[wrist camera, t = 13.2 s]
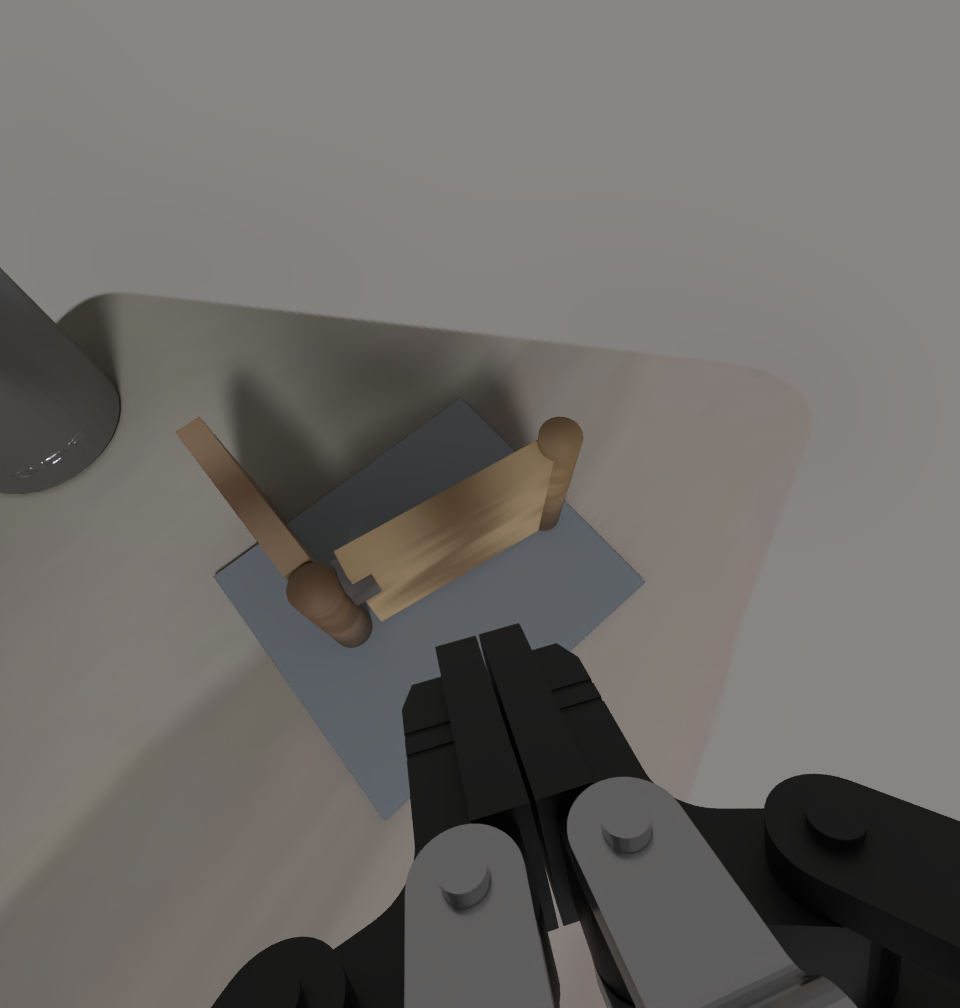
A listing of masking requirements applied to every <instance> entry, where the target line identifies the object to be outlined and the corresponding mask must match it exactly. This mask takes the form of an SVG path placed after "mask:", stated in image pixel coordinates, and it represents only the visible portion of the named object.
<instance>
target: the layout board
mask: <svg viewBox="0 0 960 1008" xmlns="http://www.w3.org/2000/svg"><path fill="white" fill-rule="evenodd" d="M514 452H515V451H514V450H513V449H512V448H511V447H510V446H509V445H508V444H507V443H506V442H505V441H504V440H503V439H502V438H501V437H500V436H499V435H498V434H497V433H496V432H495V431H494V430H493V429H492V428H491V427H490V426H489V425H488V424H487V423H486V422H485V421H484V420H483V419H482V418H481V417H480V416H479V415H478V414H477V413H476V412H475V411H474V410H473V409H472V408H471V407H470V406H469V405H468V404H467V403H466V402H465V401H464V400H463V399H462V398H460V399H458V400H457V401H455V402H454V403H453V404H451V405H450V406H448V407H447V408H446V409H444V410H443V411H442V412H440V413H439V414H437V415H436V416H435V417H433V418H432V419H430V420H429V421H428V422H426V423H425V424H424V425H422V426H421V427H419V428H418V429H417V430H415V431H414V432H412V433H411V434H410V435H408V436H407V437H406V438H404V439H403V440H401V441H400V442H399V443H397V444H396V445H395V446H393V447H392V448H390V449H389V450H388V451H386V452H385V453H383V454H382V455H381V456H379V457H378V458H377V459H375V460H374V461H372V462H371V463H370V464H368V465H367V466H365V467H364V468H363V469H361V470H360V471H359V472H357V473H356V474H354V475H353V476H352V477H350V478H349V479H347V480H346V481H345V482H343V483H342V484H341V485H339V486H338V487H336V488H335V489H334V490H332V491H331V492H330V493H328V494H327V495H325V496H324V497H323V498H321V499H320V500H318V501H317V502H316V503H314V504H313V505H312V506H310V507H309V508H307V509H306V510H305V511H303V512H302V513H300V514H299V515H298V516H296V517H295V518H294V519H292V520H291V521H289V522H288V523H287V524H288V525H289V527H290V528H291V529H292V531H293V532H294V533H295V534H296V536H297V537H298V538H299V540H300V541H301V542H302V543H303V545H304V546H305V547H306V549H307V550H308V551H309V552H310V554H311V555H312V556H313V558H314V559H315V560H316V561H317V563H320V564H324V565H326V566H328V567H329V568H330V569H331V570H332V571H333V572H334V570H333V568H332V566H331V564H330V563H329V562H331V561H333V560H335V559H336V558H337V557H336V555H335V553H334V551H335V550H337V549H339V548H341V547H343V546H344V545H346V544H348V543H350V542H352V541H354V540H355V539H357V538H359V537H361V536H363V535H365V534H366V533H368V532H370V531H372V530H374V529H376V528H377V527H379V526H381V525H383V524H385V523H386V522H388V521H390V520H392V519H394V518H396V517H397V516H399V515H401V514H403V513H405V512H407V511H408V510H410V509H412V508H414V507H416V506H418V505H419V504H421V503H423V502H425V501H427V500H428V499H430V498H432V497H434V496H436V495H438V494H439V493H441V492H443V491H445V490H447V489H449V488H450V487H452V486H454V485H456V484H458V483H460V482H461V481H463V480H465V479H467V478H469V477H471V476H472V475H474V474H476V473H478V472H480V471H481V470H483V469H485V468H487V467H489V466H491V465H492V464H494V463H496V462H498V461H500V460H502V459H503V458H505V457H507V456H509V455H511V454H513V453H514ZM334 573H335V572H334ZM213 577H214V578H215V579H216V581H217V582H218V584H219V585H220V587H221V588H222V589H223V591H224V592H225V594H226V595H227V597H228V598H229V599H230V601H231V602H232V604H233V605H234V607H235V608H236V609H237V611H238V612H239V614H240V615H241V617H242V618H243V619H244V621H245V622H246V624H247V625H248V627H249V628H250V629H251V631H252V632H253V634H254V635H255V637H256V638H257V639H258V641H259V642H260V644H261V645H262V647H263V648H264V649H265V651H266V652H267V654H268V655H269V657H270V658H271V659H272V661H273V662H274V664H275V665H276V667H277V668H278V669H279V671H280V672H281V674H282V675H283V677H284V678H285V679H286V681H287V682H288V684H289V685H290V687H291V688H292V689H293V691H294V692H295V694H296V695H297V697H298V698H299V699H300V701H301V702H302V704H303V705H304V707H305V708H306V709H307V711H308V712H309V714H310V715H311V717H312V718H313V719H314V721H315V722H316V724H317V725H318V727H319V728H320V729H321V731H322V732H323V734H324V735H325V737H326V738H327V739H328V741H329V742H330V744H331V745H332V747H333V748H334V749H335V751H336V752H337V754H338V755H339V757H340V758H341V759H342V761H343V762H344V764H345V765H346V767H347V768H348V769H349V771H350V772H351V774H352V775H353V777H354V778H355V779H356V781H357V782H358V784H359V785H360V787H361V788H362V789H363V791H364V792H365V794H366V795H367V797H368V798H369V799H370V801H371V802H372V804H373V805H374V807H375V808H376V809H377V811H378V812H379V814H380V815H381V817H382V818H383V819H384V821H385V820H386V819H387V818H388V817H390V816H391V815H392V814H393V813H394V812H395V811H396V810H397V809H398V808H399V807H400V806H401V805H403V804H404V803H405V802H406V801H407V800H408V799H409V798H410V789H409V779H408V769H407V756H406V748H405V735H404V727H403V717H402V708H403V705H404V703H405V700H406V698H407V696H408V693H409V691H410V688H411V686H412V685H413V684H417V683H420V682H424V681H427V680H431V679H434V678H438V677H441V674H440V669H439V664H438V659H437V654H436V649H435V647H436V646H440V645H443V644H447V643H450V642H454V641H457V640H461V639H464V638H468V637H471V636H476V638H477V641H478V644H479V647H480V650H481V653H482V656H483V652H482V648H481V643H480V639H479V634H481V633H485V632H489V631H492V630H496V629H499V628H503V627H506V626H510V625H513V624H517V623H519V624H520V626H521V627H522V630H523V632H524V634H525V636H526V638H527V640H528V643H529V645H530V647H531V649H532V650H534V649H537V648H541V647H544V646H548V645H551V644H555V643H557V644H559V645H560V646H562V647H563V648H565V649H566V650H568V651H571V650H572V649H573V648H574V647H575V646H576V645H577V644H578V643H579V642H580V641H581V640H583V639H584V638H585V637H586V636H587V635H588V634H589V633H590V632H591V631H592V630H593V629H595V628H596V627H597V626H598V625H599V624H600V623H601V622H602V621H603V620H604V619H605V618H607V617H608V616H609V615H610V614H611V613H612V612H613V611H614V610H615V609H616V608H617V607H619V606H620V605H621V604H622V603H623V602H624V601H625V600H626V599H627V598H628V597H629V596H631V595H632V594H633V593H634V592H635V591H636V590H637V589H638V588H639V587H640V586H641V585H642V584H644V583H645V581H644V580H643V579H642V578H641V577H640V576H639V575H638V574H637V573H636V572H635V571H634V570H633V569H632V568H631V567H630V566H629V565H628V564H627V563H626V562H625V561H624V560H623V559H622V558H621V557H620V556H619V555H618V554H617V553H616V552H615V551H614V550H613V549H612V548H611V547H610V546H609V545H608V544H607V543H606V542H605V541H604V540H603V539H602V538H601V537H600V536H599V535H598V534H597V533H596V532H595V531H594V530H593V529H592V528H591V527H590V526H589V525H588V524H587V523H586V522H585V521H584V520H583V519H582V518H581V517H580V516H579V515H578V514H577V513H576V512H575V511H574V510H573V509H572V508H571V507H570V506H569V505H568V504H567V503H566V502H565V501H564V504H563V507H562V511H561V514H560V517H559V521H558V523H557V525H556V526H555V527H554V528H552V529H550V530H548V531H536V532H535V533H533V534H531V535H530V536H528V537H526V538H524V539H523V540H521V541H519V542H518V543H516V544H514V545H512V546H511V547H509V548H507V549H506V550H504V551H502V552H500V553H499V554H497V555H495V556H494V557H492V558H490V559H488V560H487V561H485V562H483V563H482V564H480V565H478V566H476V567H475V568H473V569H471V570H470V571H468V572H466V573H464V574H463V575H461V576H459V577H458V578H456V579H454V580H452V581H451V582H449V583H447V584H446V585H444V586H442V587H440V588H439V589H437V590H435V591H434V592H432V593H430V594H428V595H427V596H425V597H423V598H422V599H420V600H418V601H416V602H415V603H413V604H411V605H410V606H408V607H406V608H404V609H403V610H401V611H399V612H398V613H396V614H394V615H392V616H391V617H389V618H387V619H386V620H384V621H382V622H381V621H380V619H379V618H378V617H377V615H376V614H375V613H374V611H373V610H372V609H371V608H370V606H369V605H368V604H367V602H366V601H365V602H363V603H361V604H360V605H361V606H362V607H363V609H364V610H365V611H366V612H367V614H368V615H369V616H370V618H371V620H372V633H371V635H370V637H369V639H368V640H367V641H366V642H365V643H364V644H362V645H360V646H358V647H354V648H348V647H344V646H342V645H341V644H339V643H338V642H337V641H335V640H334V639H333V638H332V637H330V636H329V635H328V634H327V633H325V632H324V631H323V630H321V629H320V628H319V627H318V626H316V625H315V624H314V623H313V622H311V621H310V620H309V619H308V618H306V617H305V616H304V615H302V614H301V613H300V612H299V611H297V610H296V609H295V608H294V607H293V606H292V605H291V604H290V603H289V601H288V599H287V595H286V587H287V583H288V580H287V579H286V578H285V577H283V575H282V574H281V573H280V571H279V570H278V569H277V567H276V566H275V565H274V563H273V562H272V561H271V559H270V558H269V557H268V555H267V554H266V553H265V551H264V550H263V549H262V547H261V546H260V545H259V544H258V545H256V546H255V547H253V548H252V549H251V550H249V551H248V552H247V553H245V554H244V555H242V556H241V557H240V558H238V559H237V560H235V561H234V562H233V563H231V564H230V565H229V566H227V567H226V568H224V569H223V570H222V571H220V572H219V573H217V574H216V575H215V576H213ZM483 660H484V656H483ZM484 663H485V660H484ZM485 666H486V664H485ZM486 669H487V668H486Z"/></svg>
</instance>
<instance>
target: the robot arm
mask: <svg viewBox="0 0 960 1008" xmlns="http://www.w3.org/2000/svg"><path fill="white" fill-rule="evenodd" d="M119 411H120V409H119V397H118V394H117V392H116V389H115V386H114V385H113V383H112V382H111V381H110V379H109V378H108V377H107V375H106V374H105V373H104V372H103V371H102V370H101V369H100V368H99V367H98V366H97V365H96V364H95V363H94V362H93V361H92V360H91V359H90V358H89V357H88V356H87V355H86V354H85V353H84V352H83V351H82V350H81V349H80V348H79V347H78V346H77V345H76V344H75V343H74V342H73V341H72V340H71V339H70V338H69V337H68V336H67V335H66V334H65V333H64V332H63V331H62V330H61V328H60V327H59V326H58V325H57V324H56V323H55V322H54V321H53V320H52V319H51V318H49V316H47V314H46V313H45V312H44V311H43V310H42V309H41V308H40V307H38V306H37V304H36V303H35V302H34V301H33V300H32V299H31V298H30V297H29V296H28V295H27V294H26V293H25V292H24V291H23V290H22V289H21V288H20V287H19V286H18V285H17V284H16V283H15V282H14V281H13V280H12V279H11V278H10V277H9V276H8V275H7V274H6V273H5V272H4V271H3V270H2V269H1V268H0V492H1V493H5V494H25V493H32V492H38V491H42V490H45V489H48V488H51V487H54V486H57V485H59V484H61V483H63V482H65V481H67V480H68V479H70V478H72V477H74V476H76V475H77V474H78V473H80V472H81V471H82V470H84V469H85V468H86V467H88V466H89V465H90V464H91V463H92V462H93V461H94V460H95V459H96V458H97V457H98V456H99V455H100V454H101V453H102V451H103V450H104V448H105V447H106V445H107V444H108V442H109V441H110V439H111V438H112V435H113V433H114V430H115V428H116V426H117V422H118V416H119ZM479 639H480V643H481V648H482V652H483V656H484V660H485V663H484V660H483V656H482V653H481V650H480V647H479V644H478V641H477V638H476V636H471V637H468V638H464V639H461V640H457V641H454V642H450V643H447V644H443V645H440V646H436V647H435V649H436V654H437V659H438V664H439V669H440V674H441V677H438V678H434V679H431V680H427V681H424V682H420V683H417V684H413V685H412V686H411V688H410V691H409V693H408V696H407V698H406V700H405V703H404V705H403V708H402V717H403V727H404V735H405V748H406V756H407V769H408V779H409V789H410V799H411V810H412V820H413V830H414V841H415V856H414V862H413V863H412V866H411V868H410V870H409V873H408V877H407V880H406V884H405V886H404V888H403V889H402V891H401V893H400V894H399V896H398V897H397V898H396V900H395V901H394V902H393V903H392V905H391V906H390V907H389V908H388V909H387V910H386V911H385V912H384V913H383V914H382V915H381V916H380V917H378V918H377V919H376V920H374V921H373V922H372V923H371V924H369V925H368V926H366V927H365V928H364V929H362V930H361V931H359V932H358V933H356V934H355V935H354V936H352V937H351V938H349V939H348V940H346V941H345V942H344V943H342V944H341V945H339V946H338V947H336V948H335V949H334V950H333V949H332V948H331V947H330V946H329V945H327V944H326V943H325V942H323V941H321V940H318V939H315V938H311V937H295V938H290V939H286V940H283V941H280V942H278V943H276V944H273V945H271V946H269V947H268V948H266V949H265V950H263V951H261V952H260V953H258V954H257V955H256V956H255V957H253V958H252V959H251V960H250V961H249V962H248V963H246V964H245V965H244V966H243V967H242V968H241V969H240V970H239V971H238V973H237V974H236V975H235V976H234V978H233V979H232V980H231V981H230V982H229V984H228V985H227V986H226V988H225V989H224V991H223V992H222V993H221V995H220V996H219V997H218V999H217V1000H216V1001H215V1003H214V1004H213V1006H212V1007H211V1008H560V1004H559V1003H560V983H559V978H558V973H557V969H556V965H555V961H554V957H553V953H552V949H551V945H550V940H549V936H548V932H549V931H552V930H555V929H557V928H559V927H558V922H557V918H556V913H555V909H554V905H553V900H552V896H551V892H550V887H549V883H548V879H547V875H548V878H549V881H550V885H551V888H552V891H553V894H554V897H555V900H556V904H557V907H558V910H559V913H560V916H561V919H562V923H563V926H565V925H568V924H571V923H574V922H577V921H580V923H581V926H582V929H583V932H584V935H585V938H586V940H587V943H588V946H589V949H590V952H591V955H592V959H593V963H594V968H595V973H596V978H597V983H598V986H599V989H600V992H601V994H602V997H603V999H604V1002H605V1004H606V1006H607V1008H960V821H957V820H955V819H952V818H949V817H947V816H944V815H941V814H939V813H936V812H933V811H930V810H928V809H925V808H922V807H920V806H917V805H914V804H912V803H909V802H906V801H904V800H901V799H898V798H895V797H893V796H890V795H887V794H885V793H882V792H879V791H877V790H874V789H871V788H868V787H866V786H863V785H860V784H857V783H855V782H852V781H850V780H846V779H843V778H839V777H835V776H830V775H823V774H804V775H799V776H794V777H791V778H789V779H787V780H784V781H783V782H781V783H779V784H778V785H777V786H776V787H775V788H774V789H773V790H772V791H771V792H770V794H769V796H768V797H767V799H766V803H765V806H764V807H765V808H764V809H716V808H705V807H699V806H694V805H691V804H688V803H685V802H682V801H680V800H678V799H676V798H674V797H673V796H672V795H670V794H669V793H668V792H667V791H666V790H664V789H663V788H661V787H660V786H658V785H656V784H654V783H653V782H652V781H651V780H650V778H649V777H648V776H647V774H646V773H645V771H644V770H643V768H642V766H641V765H640V763H639V761H638V759H637V758H636V756H635V754H634V752H633V751H632V749H631V747H630V746H629V744H628V742H627V740H626V739H625V737H624V735H623V733H622V732H621V730H620V728H619V727H618V725H617V723H616V721H615V720H614V718H613V716H612V714H611V713H610V711H609V709H608V708H607V706H606V704H605V702H604V701H602V698H601V695H600V694H599V692H598V690H597V688H596V687H595V685H594V683H592V681H591V678H590V676H589V675H588V673H587V671H586V669H585V668H584V666H583V664H582V663H581V661H580V659H579V657H577V656H576V655H574V654H573V653H571V652H570V651H568V650H566V649H565V648H563V647H562V646H560V645H559V644H557V643H555V644H551V645H548V646H544V647H541V648H537V649H534V650H532V649H531V647H530V645H529V643H528V640H527V638H526V636H525V634H524V632H523V630H522V627H521V626H520V624H519V623H517V624H513V625H510V626H506V627H503V628H499V629H496V630H492V631H489V632H485V633H481V634H479ZM485 664H486V666H485ZM486 668H487V669H486ZM544 865H545V866H544ZM545 869H546V870H545ZM546 872H547V874H546Z"/></svg>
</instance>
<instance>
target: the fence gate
mask: <svg viewBox="0 0 960 1008" xmlns="http://www.w3.org/2000/svg"><path fill="white" fill-rule="evenodd" d="M582 441H583V433H582V430H581V428H580V426H579V425H578V424H577V423H576V422H575V421H573V420H571V419H569V418H566V417H554V418H551V419H549V420H547V421H546V422H545V423H544V424H543V425H542V426H541V428H540V430H539V436H538V440H536V441H534V442H533V443H531V444H529V445H527V446H525V447H524V448H522V449H520V450H518V451H516V452H514V453H513V454H511V455H509V456H507V457H505V458H503V459H502V460H500V461H498V462H496V463H494V464H492V465H491V466H489V467H487V468H485V469H483V470H481V471H480V472H478V473H476V474H474V475H472V476H471V477H469V478H467V479H465V480H463V481H461V482H460V483H458V484H456V485H454V486H452V487H450V488H449V489H447V490H445V491H443V492H441V493H439V494H438V495H436V496H434V497H432V498H430V499H428V500H427V501H425V502H423V503H421V504H419V505H418V506H416V507H414V508H412V509H410V510H408V511H407V512H405V513H403V514H401V515H399V516H397V517H396V518H394V519H392V520H390V521H388V522H386V523H385V524H383V525H381V526H379V527H377V528H376V529H374V530H372V531H370V532H368V533H366V534H365V535H363V536H361V537H359V538H357V539H355V540H354V541H352V542H350V543H348V544H346V545H344V546H343V547H341V548H339V549H337V550H335V551H334V553H335V555H336V557H337V558H336V559H335V560H333V561H331V562H329V563H330V564H331V566H332V568H333V570H334V572H335V574H336V576H337V578H338V580H339V582H340V583H341V585H342V587H343V589H344V591H345V592H346V594H347V595H348V596H349V597H350V598H351V600H352V601H353V602H354V603H355V604H356V605H357V606H358V605H360V604H361V603H363V602H365V601H366V602H367V604H368V605H369V606H370V608H371V609H372V610H373V611H374V613H375V614H376V615H377V617H378V618H379V619H380V621H381V622H382V621H384V620H386V619H387V618H389V617H391V616H392V615H394V614H396V613H398V612H399V611H401V610H403V609H404V608H406V607H408V606H410V605H411V604H413V603H415V602H416V601H418V600H420V599H422V598H423V597H425V596H427V595H428V594H430V593H432V592H434V591H435V590H437V589H439V588H440V587H442V586H444V585H446V584H447V583H449V582H451V581H452V580H454V579H456V578H458V577H459V576H461V575H463V574H464V573H466V572H468V571H470V570H471V569H473V568H475V567H476V566H478V565H480V564H482V563H483V562H485V561H487V560H488V559H490V558H492V557H494V556H495V555H497V554H499V553H500V552H502V551H504V550H506V549H507V548H509V547H511V546H512V545H514V544H516V543H518V542H519V541H521V540H523V539H524V538H526V537H528V536H530V535H531V534H533V533H535V532H536V531H548V530H550V529H552V528H554V527H555V526H556V525H557V523H558V521H559V517H560V514H561V511H562V507H563V504H564V501H565V497H566V494H567V491H568V488H569V484H570V481H571V478H572V474H573V471H574V468H575V465H576V461H577V458H578V455H579V451H580V448H581V445H582Z"/></svg>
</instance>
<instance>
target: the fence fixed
mask: <svg viewBox="0 0 960 1008" xmlns="http://www.w3.org/2000/svg"><path fill="white" fill-rule="evenodd" d="M176 434H177V435H178V436H179V438H180V439H181V440H182V442H183V443H184V444H185V446H186V447H187V448H188V450H189V451H190V452H191V454H192V455H193V456H194V458H195V459H196V460H197V462H198V463H199V464H200V466H201V467H202V468H203V470H204V471H205V472H206V474H207V475H208V476H209V478H210V479H211V480H212V482H213V483H214V484H215V486H216V487H217V488H218V490H219V491H220V492H221V494H222V495H223V496H224V498H225V499H226V500H227V502H228V503H229V504H230V506H231V507H232V508H233V510H234V511H235V512H236V514H237V515H238V517H239V518H240V519H241V521H242V522H243V523H244V525H245V526H246V527H247V529H248V530H249V531H250V533H251V534H252V535H253V537H254V538H255V539H256V541H257V542H258V543H259V545H260V546H261V547H262V549H263V550H264V551H265V553H266V554H267V555H268V557H269V558H270V559H271V561H272V562H273V563H274V565H275V566H276V567H277V569H278V570H279V571H280V573H281V574H282V575H283V577H285V578H286V579H287V580H288V583H287V587H286V595H287V599H288V601H289V603H290V604H291V605H292V606H293V607H294V608H295V609H296V610H297V611H299V612H300V613H301V614H302V615H304V616H305V617H306V618H308V619H309V620H310V621H311V622H313V623H314V624H315V625H316V626H318V627H319V628H320V629H321V630H323V631H324V632H325V633H327V634H328V635H329V636H330V637H332V638H333V639H334V640H335V641H337V642H338V643H339V644H341V645H342V646H344V647H348V648H354V647H358V646H360V645H362V644H364V643H365V642H366V641H367V640H368V639H369V637H370V635H371V633H372V620H371V618H370V616H369V615H368V614H367V612H366V611H365V610H364V609H363V607H362V606H361V605H358V606H357V605H356V604H355V603H354V602H353V601H352V600H351V598H350V597H349V596H348V595H347V594H346V592H345V591H344V589H343V587H342V585H341V583H340V582H339V580H338V578H337V576H336V574H335V573H334V572H333V571H332V570H331V569H330V568H329V567H328V566H326V565H324V564H320V563H317V561H316V560H315V559H314V558H313V556H312V555H311V554H310V552H309V551H308V550H307V549H306V547H305V546H304V545H303V543H302V542H301V541H300V540H299V538H298V537H297V536H296V534H295V533H294V532H293V531H292V529H291V528H290V527H289V525H288V524H287V523H286V521H285V520H284V519H283V518H282V516H281V515H280V514H279V513H278V511H277V510H276V509H275V507H274V506H273V505H272V504H271V502H270V501H269V500H268V498H267V497H266V496H265V495H264V493H263V492H262V491H261V490H260V488H259V487H258V486H257V485H256V484H255V482H254V481H253V480H252V479H251V478H250V476H249V475H248V474H247V473H246V472H245V470H244V469H243V468H242V467H241V466H240V464H239V463H238V462H237V461H236V460H235V459H234V457H233V456H232V455H231V454H230V453H229V451H228V450H227V449H226V448H225V447H224V445H223V444H222V443H221V442H220V441H219V439H218V438H217V437H216V436H215V435H214V433H213V432H212V431H211V430H210V429H209V427H208V426H207V425H206V424H205V423H204V421H203V420H202V419H201V418H200V417H198V418H196V419H195V420H193V421H192V422H190V423H188V424H187V425H185V426H184V427H182V428H181V429H179V430H178V431H176Z"/></svg>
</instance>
